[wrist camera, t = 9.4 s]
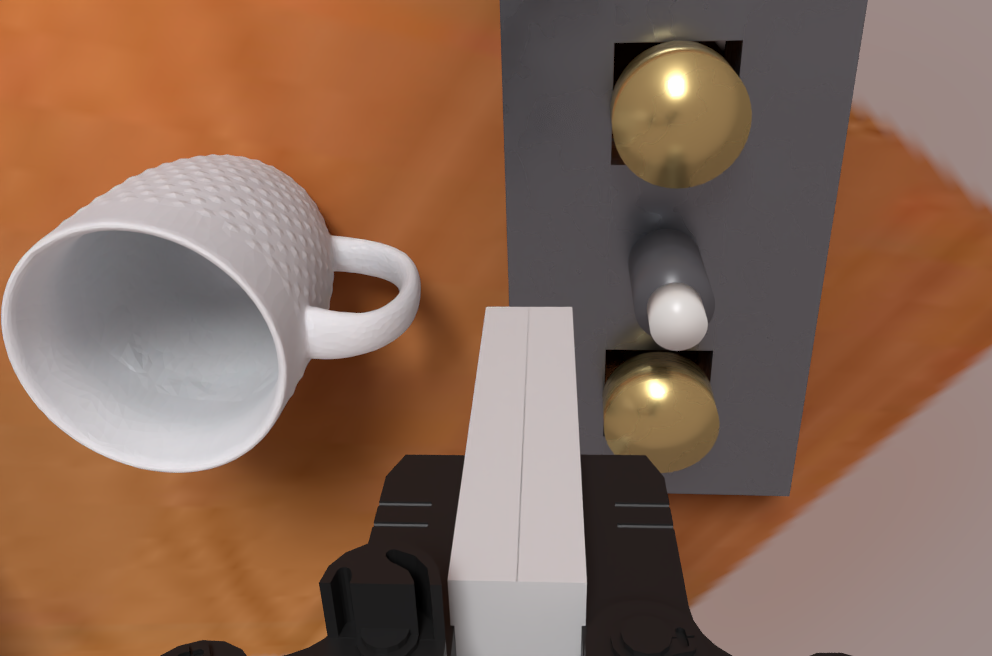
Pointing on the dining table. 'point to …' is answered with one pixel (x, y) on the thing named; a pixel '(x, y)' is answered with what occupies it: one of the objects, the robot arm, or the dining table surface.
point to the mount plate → (683, 206)
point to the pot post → (670, 289)
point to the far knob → (660, 409)
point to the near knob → (679, 115)
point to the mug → (189, 311)
